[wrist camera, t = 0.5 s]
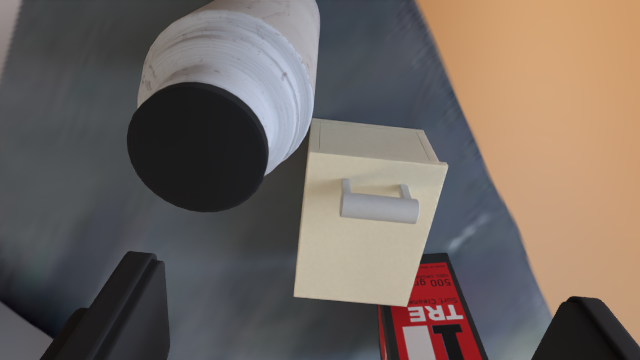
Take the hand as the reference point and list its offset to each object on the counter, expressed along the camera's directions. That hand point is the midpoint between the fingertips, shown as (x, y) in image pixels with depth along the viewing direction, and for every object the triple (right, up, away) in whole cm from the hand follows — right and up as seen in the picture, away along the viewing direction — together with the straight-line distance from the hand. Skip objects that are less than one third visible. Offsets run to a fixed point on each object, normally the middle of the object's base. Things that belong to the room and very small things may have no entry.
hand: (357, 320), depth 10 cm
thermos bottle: (-5, +18, +29) cm, 34 cm away
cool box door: (+3, -2, +30) cm, 30 cm away
